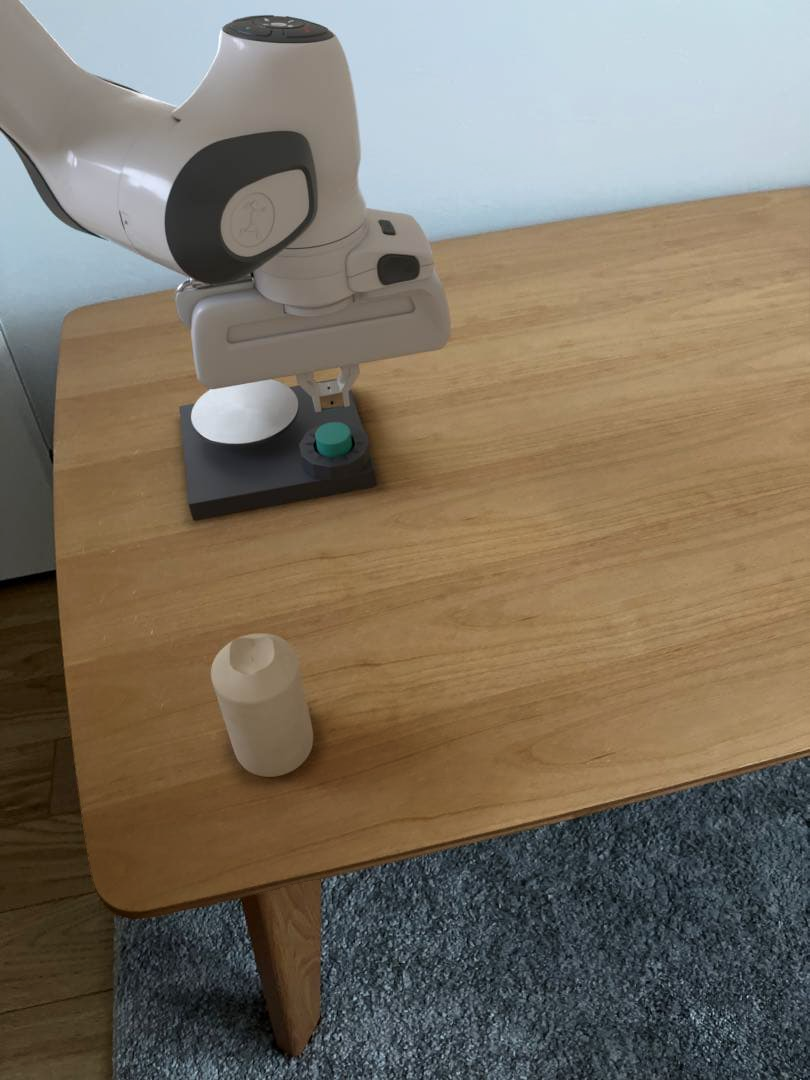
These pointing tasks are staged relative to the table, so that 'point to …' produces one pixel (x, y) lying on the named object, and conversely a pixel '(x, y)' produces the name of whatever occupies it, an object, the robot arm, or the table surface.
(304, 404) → the scale
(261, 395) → the silver metal disc
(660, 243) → the table surface
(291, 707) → the candle
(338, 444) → the button
